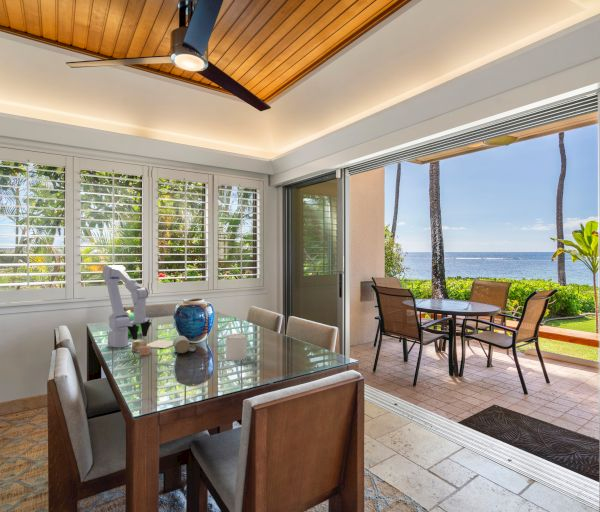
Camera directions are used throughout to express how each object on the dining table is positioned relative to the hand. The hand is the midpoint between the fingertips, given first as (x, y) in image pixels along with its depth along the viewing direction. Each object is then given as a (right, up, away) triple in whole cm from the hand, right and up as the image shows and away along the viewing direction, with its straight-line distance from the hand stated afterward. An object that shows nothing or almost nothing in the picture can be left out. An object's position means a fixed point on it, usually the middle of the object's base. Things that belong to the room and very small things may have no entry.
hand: (139, 337), depth 188 cm
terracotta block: (+6, -7, -8) cm, 12 cm away
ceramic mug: (+24, -7, -2) cm, 25 cm away
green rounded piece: (-22, -6, +35) cm, 42 cm away
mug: (+52, -7, -10) cm, 53 cm away
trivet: (+7, -7, +12) cm, 15 cm away
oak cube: (0, -7, 0) cm, 7 cm away
